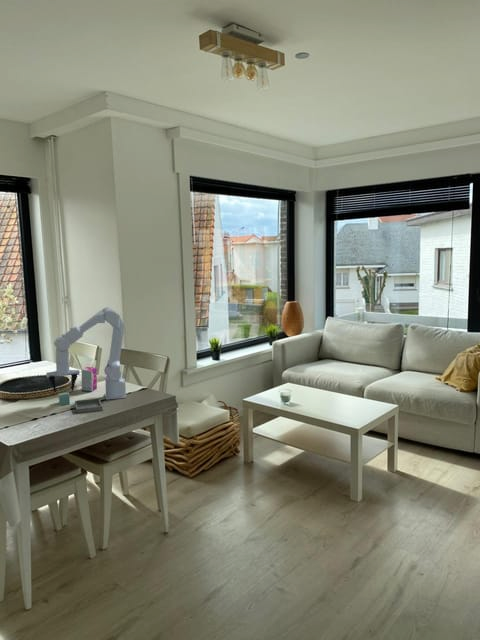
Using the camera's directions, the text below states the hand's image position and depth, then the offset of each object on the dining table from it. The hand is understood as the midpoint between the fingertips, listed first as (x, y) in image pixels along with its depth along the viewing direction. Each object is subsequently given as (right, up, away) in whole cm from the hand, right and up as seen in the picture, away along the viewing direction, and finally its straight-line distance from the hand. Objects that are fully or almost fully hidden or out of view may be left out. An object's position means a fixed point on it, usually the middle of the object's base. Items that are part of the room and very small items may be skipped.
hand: (63, 390), depth 228 cm
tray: (+13, -7, -4) cm, 15 cm away
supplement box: (+6, -3, +21) cm, 22 cm away
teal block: (0, -6, +1) cm, 6 cm away
